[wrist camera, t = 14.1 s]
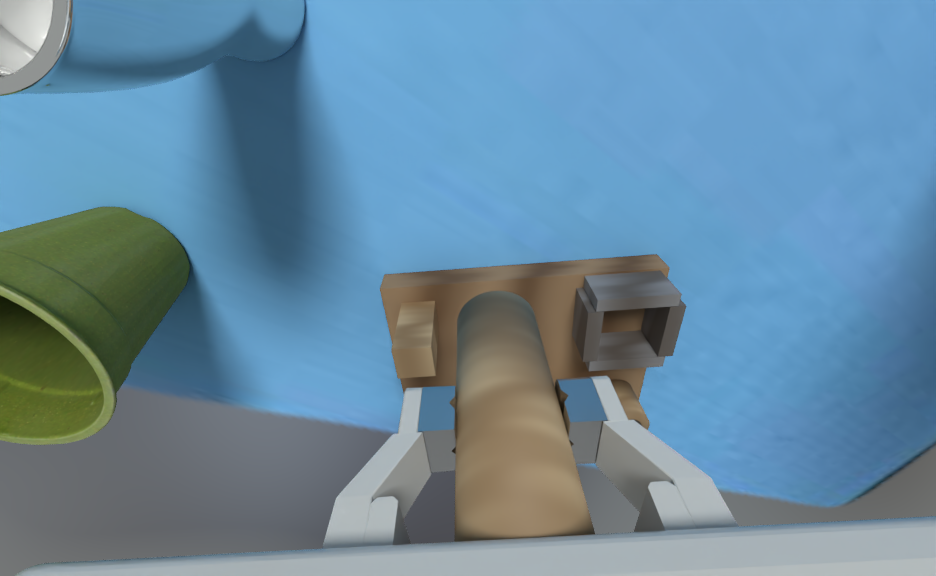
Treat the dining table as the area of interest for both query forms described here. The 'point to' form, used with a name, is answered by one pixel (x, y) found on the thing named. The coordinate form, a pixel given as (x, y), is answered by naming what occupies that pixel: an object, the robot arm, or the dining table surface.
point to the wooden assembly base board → (542, 316)
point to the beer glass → (134, 40)
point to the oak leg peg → (510, 430)
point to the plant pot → (78, 317)
